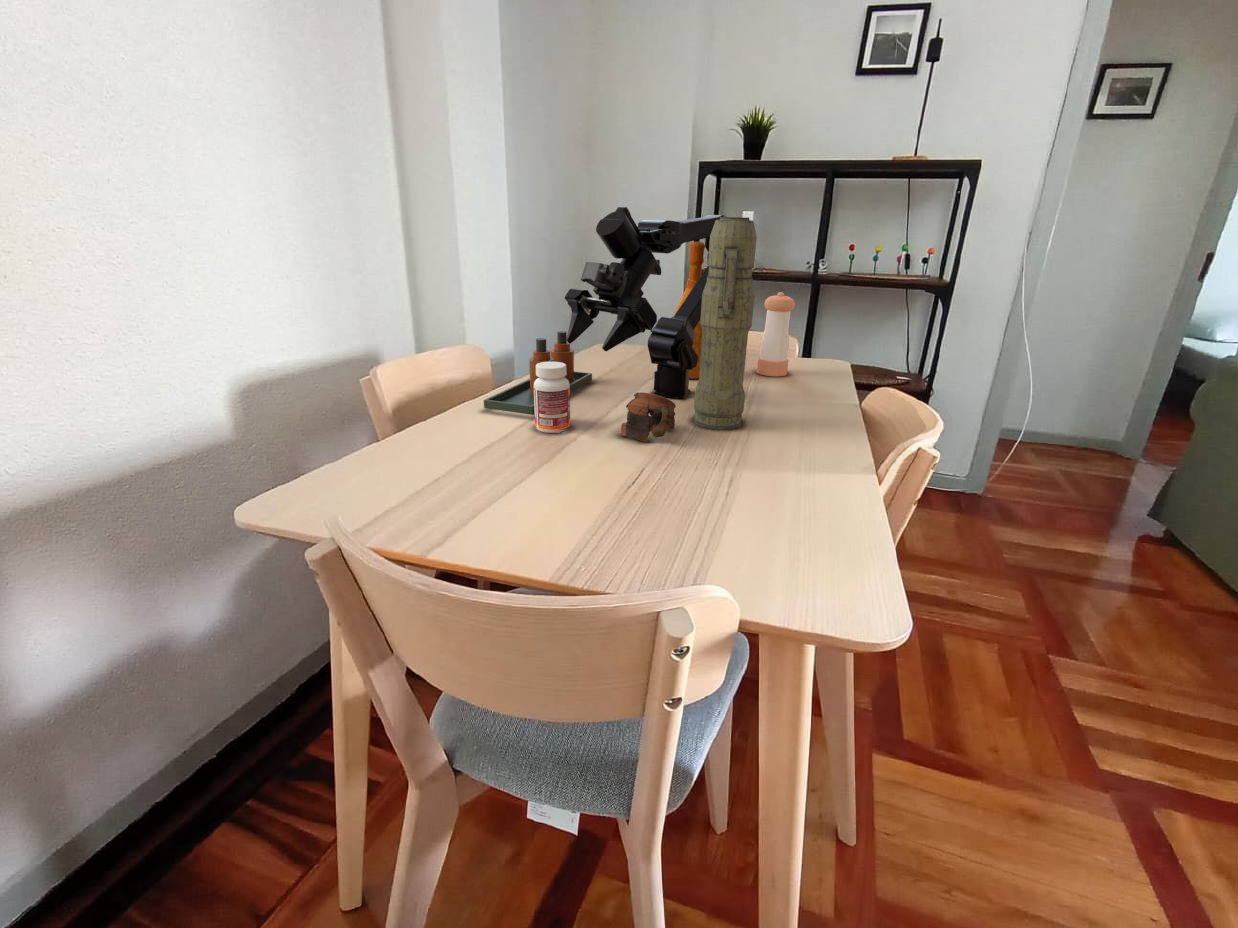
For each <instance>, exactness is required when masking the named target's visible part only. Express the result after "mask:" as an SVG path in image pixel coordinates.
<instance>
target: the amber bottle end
mask: <svg viewBox="0 0 1238 928" xmlns="http://www.w3.org/2000/svg"><path fill="white" fill-rule="evenodd" d="M567 335H568V331H565V330H558V331H556V336H557V337H556V341H555V342H553V348H552V349H550V357H552V358H554V362H561V363H564V364H566V372H567V375H566V376H564V378H566V379H567V380H568V381H569V384H571V383H573V382H574V371H575V351H574V349H573V348H571V343H568V342H567V340H566V339H567Z"/></svg>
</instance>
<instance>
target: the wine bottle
mask: <svg viewBox="0 0 1238 928" xmlns="http://www.w3.org/2000/svg"><path fill="white" fill-rule="evenodd" d="M705 249H706V248H705V242H703V241H691V242H690V244H689V258H688V264H689V272H688V279H687V282H686V285H685V289H684V292H683V294H682V295H681V299H680V301H679V302H678V305H677V307H676V309H675V311H674V314H673V316H674V315H675V314H676V313H677V311H678V310H679V308H680V307H681V305H682V304H683V302H684V301H685V299H686V298H687V296H688V295H689V293H690V292H691V290H692V289H693V288H694V286H695V285H696V283H697V282H698V280H699V279H700V277H701V276H702V274H703V271H702V269H703V264H704V263H705V261H704V254H705ZM701 343H702V327H701V324H700V321H699V323H698V324H697V326H696V327H695V329H694V343H693V345H692V348H693V349H694V351H695V352H696V354H697V356H698V362H697V365H696V367H694V368H693V369H691V370H689V380H695V379H696V380H697V379H698V380H699V371H700V357H701Z"/></svg>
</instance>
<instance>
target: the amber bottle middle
mask: <svg viewBox="0 0 1238 928" xmlns="http://www.w3.org/2000/svg"><path fill="white" fill-rule="evenodd" d="M535 340H536V341H535V347H536V349H534V350H533V351H532V357H530V358H529V359H528V362H529V363H528V365H529V366H528V369H529V379H530V393H531V394H533V395H534V382H535V380H536V379H538V378H539V377H538V376H536V364H538V363H541V362H554V358H552V357H551V350H549V349H547V338H544V337H539V338H536V339H535Z"/></svg>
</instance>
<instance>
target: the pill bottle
mask: <svg viewBox="0 0 1238 928" xmlns="http://www.w3.org/2000/svg"><path fill="white" fill-rule="evenodd" d="M566 375H567V372H566V364H564V363H561V362H541V363H538V364H536V376H538V377H539V378H538V379H536V380H535V382H534V408H535V413H534V425H535V429H536V430H537V431H539V432H540V433H541V432H542V433H546V434H556V433H557V434H558V433H563V432H565V431H564V429H567V428H569V427H570V426H571V393H570V384H569V381H568V380H567V379H566V378H564V376H566Z"/></svg>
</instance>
